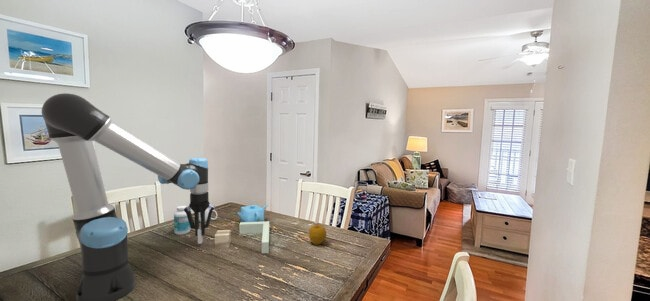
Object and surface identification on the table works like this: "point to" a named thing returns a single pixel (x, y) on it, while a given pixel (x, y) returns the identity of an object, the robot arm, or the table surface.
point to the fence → (257, 228)
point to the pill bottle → (181, 221)
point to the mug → (207, 215)
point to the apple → (317, 234)
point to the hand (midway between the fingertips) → (200, 242)
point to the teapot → (252, 213)
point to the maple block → (222, 238)
